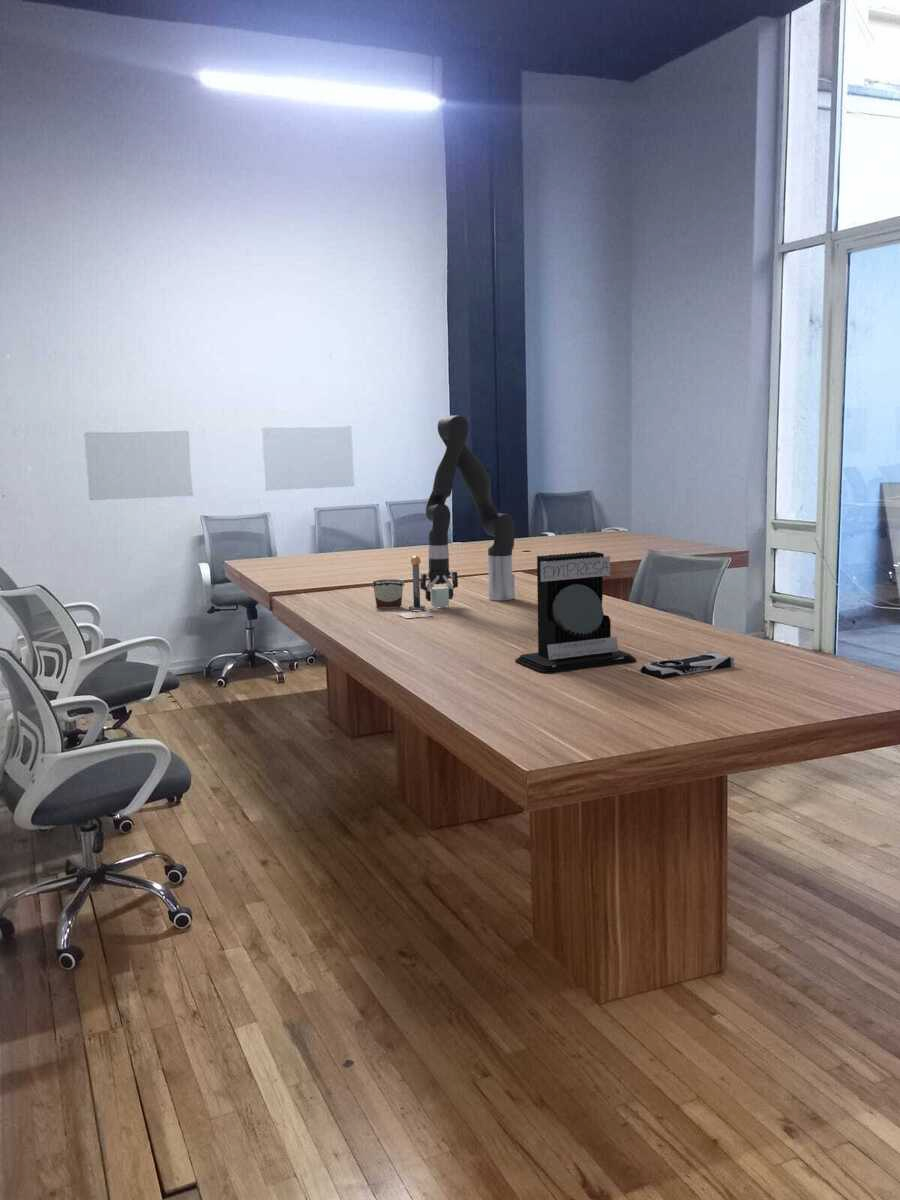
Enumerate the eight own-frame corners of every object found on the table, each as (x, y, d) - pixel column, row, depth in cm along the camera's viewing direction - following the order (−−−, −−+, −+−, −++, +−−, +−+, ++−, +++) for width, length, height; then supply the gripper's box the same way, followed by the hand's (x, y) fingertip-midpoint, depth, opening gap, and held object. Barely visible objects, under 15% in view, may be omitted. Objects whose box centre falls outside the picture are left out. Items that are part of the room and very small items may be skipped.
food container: (407, 604, 386) (406, 578, 385) (405, 607, 380) (404, 581, 379) (375, 605, 388) (374, 579, 386) (372, 607, 382) (371, 581, 380)
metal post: (421, 608, 378) (420, 554, 375) (427, 610, 373) (426, 556, 370) (406, 609, 376) (404, 555, 373) (412, 611, 371) (410, 557, 367)
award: (543, 675, 270) (542, 563, 265) (511, 661, 287) (509, 556, 282) (640, 662, 282) (640, 555, 277) (604, 649, 299) (603, 548, 294)
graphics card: (734, 656, 273) (661, 668, 261) (734, 668, 273) (661, 681, 262) (708, 650, 282) (636, 661, 270) (708, 661, 282) (636, 673, 270)
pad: (422, 612, 369) (422, 611, 369) (433, 616, 360) (433, 615, 360) (397, 614, 365) (396, 613, 365) (406, 619, 356) (406, 618, 356)
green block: (443, 605, 383) (443, 587, 382) (448, 607, 379) (448, 588, 378) (431, 606, 381) (431, 588, 380) (436, 608, 377) (435, 589, 376)
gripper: (452, 554, 383) (453, 597, 385) (417, 557, 378) (418, 600, 380) (460, 556, 376) (460, 600, 379) (424, 559, 371) (425, 602, 373)
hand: (439, 600), depth 379 cm, fingers open, 8 cm apart
